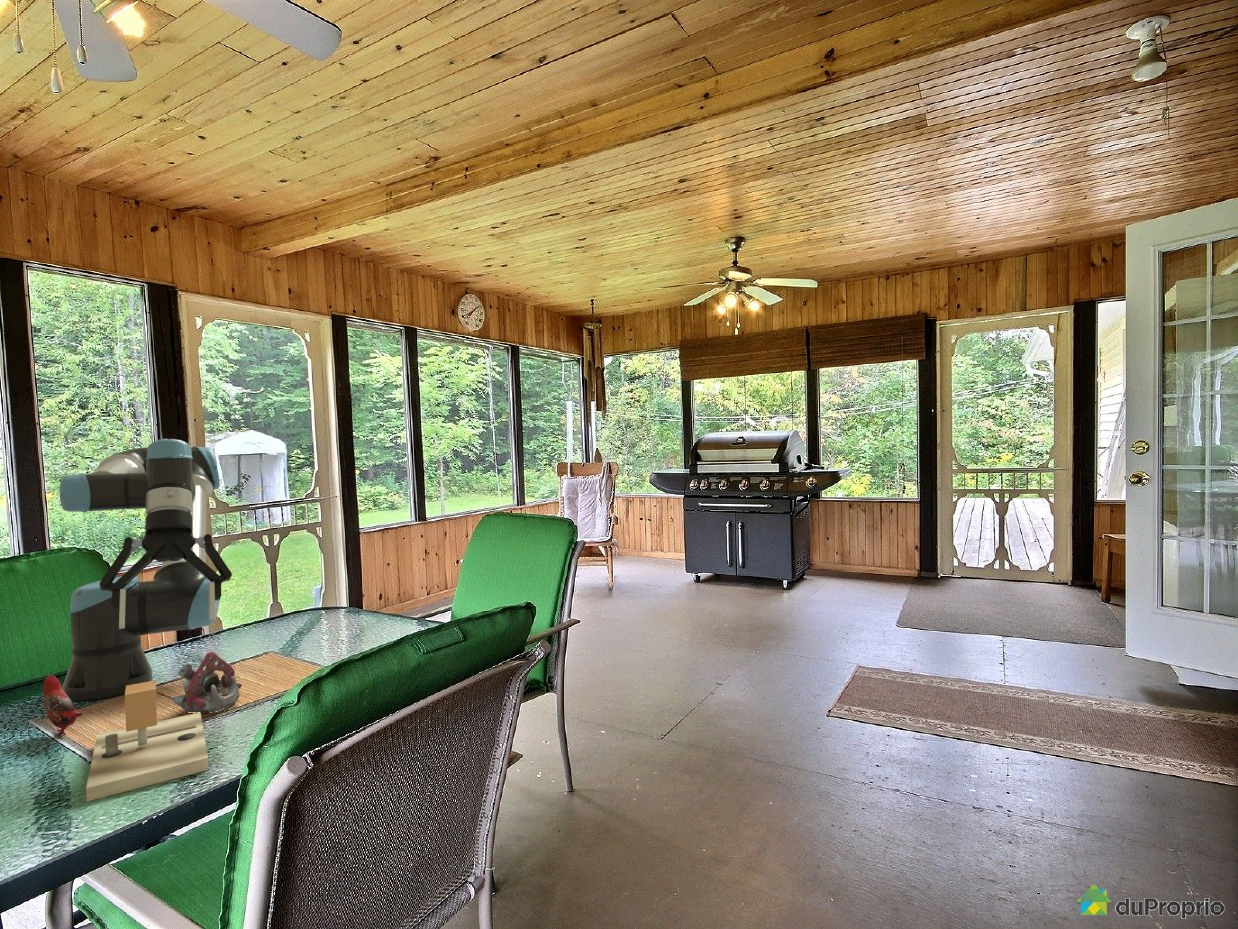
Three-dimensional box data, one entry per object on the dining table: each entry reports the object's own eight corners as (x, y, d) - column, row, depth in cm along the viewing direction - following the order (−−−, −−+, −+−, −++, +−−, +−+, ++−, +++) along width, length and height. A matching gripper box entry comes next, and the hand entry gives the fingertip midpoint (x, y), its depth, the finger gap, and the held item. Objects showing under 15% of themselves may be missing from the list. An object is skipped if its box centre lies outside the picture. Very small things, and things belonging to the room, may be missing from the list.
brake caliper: (216, 708, 121) (182, 656, 122) (179, 739, 123) (146, 687, 124) (262, 686, 132) (231, 638, 133) (227, 715, 134) (196, 668, 135)
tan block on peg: (128, 742, 107) (126, 685, 107) (157, 735, 109) (155, 680, 109) (127, 753, 103) (124, 694, 103) (157, 746, 105) (155, 689, 105)
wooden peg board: (97, 745, 111) (96, 717, 111) (200, 723, 120) (199, 696, 120) (86, 801, 93) (85, 767, 93) (208, 770, 102) (207, 739, 102)
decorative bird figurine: (57, 723, 121) (55, 670, 121) (94, 746, 111) (91, 689, 111) (37, 729, 118) (35, 675, 118) (72, 753, 109) (70, 694, 108)
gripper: (85, 508, 116) (78, 625, 108) (244, 505, 130) (248, 608, 123) (87, 523, 121) (81, 636, 113) (240, 519, 136) (244, 618, 128)
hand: (168, 622), depth 118 cm, fingers open, 13 cm apart
